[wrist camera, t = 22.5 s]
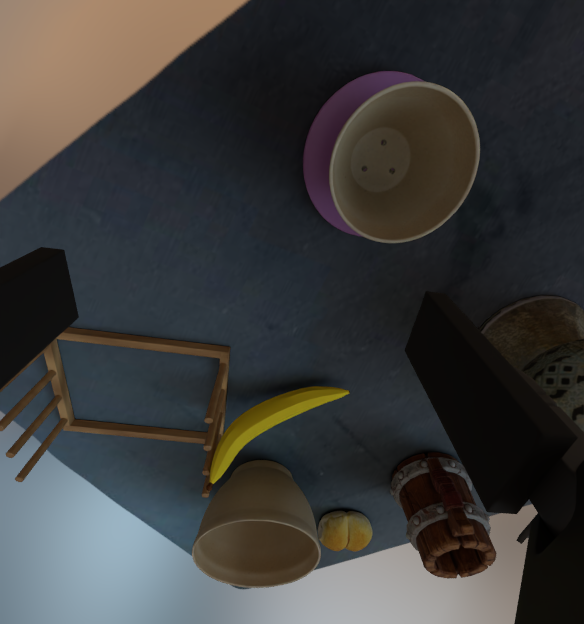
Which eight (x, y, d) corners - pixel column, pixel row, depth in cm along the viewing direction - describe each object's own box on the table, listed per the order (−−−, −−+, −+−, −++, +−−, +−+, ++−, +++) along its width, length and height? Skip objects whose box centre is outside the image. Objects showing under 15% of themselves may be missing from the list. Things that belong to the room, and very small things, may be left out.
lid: (317, 58, 26) (318, 55, 25) (474, 88, 27) (482, 87, 26) (292, 223, 32) (292, 226, 31) (420, 242, 33) (424, 246, 32)
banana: (329, 374, 45) (357, 407, 40) (197, 449, 40) (212, 497, 35) (326, 359, 43) (356, 392, 38) (187, 437, 38) (202, 485, 34)
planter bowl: (317, 506, 55) (323, 585, 46) (220, 511, 56) (206, 590, 46) (312, 439, 47) (318, 518, 38) (200, 446, 48) (178, 525, 38)
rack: (44, 324, 38) (-26, 380, 29) (230, 346, 39) (214, 406, 31) (68, 423, 45) (18, 490, 37) (223, 438, 47) (209, 506, 39)
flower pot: (297, 148, 28) (299, 155, 22) (403, 60, 25) (441, 38, 19) (359, 241, 32) (376, 268, 26) (457, 173, 29) (502, 186, 23)
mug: (389, 506, 55) (420, 615, 41) (380, 436, 50) (410, 531, 36) (462, 497, 54) (520, 605, 40) (459, 425, 49) (523, 518, 35)
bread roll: (364, 536, 60) (368, 562, 56) (314, 532, 59) (316, 558, 55) (376, 510, 56) (382, 535, 52) (323, 505, 55) (326, 531, 51)
